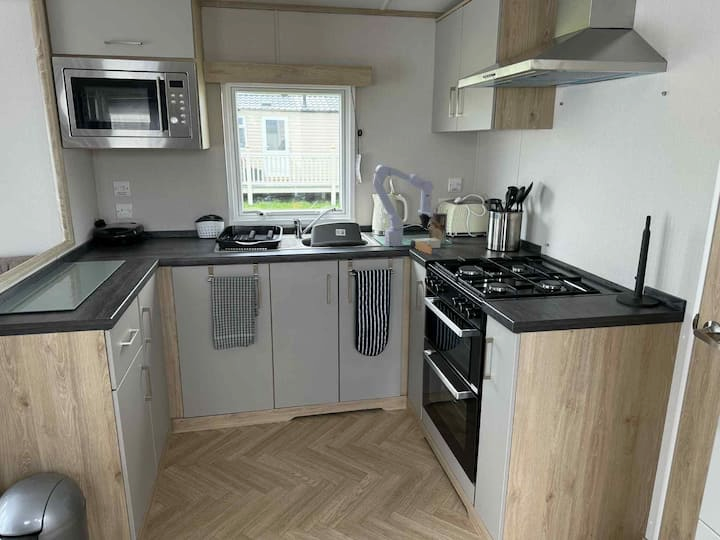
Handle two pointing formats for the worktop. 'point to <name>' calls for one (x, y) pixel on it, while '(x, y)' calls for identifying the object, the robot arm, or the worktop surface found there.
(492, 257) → the worktop surface
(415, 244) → the pale upright slab
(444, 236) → the coffee box
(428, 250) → the side door
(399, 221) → the robot arm
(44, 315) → the worktop surface
